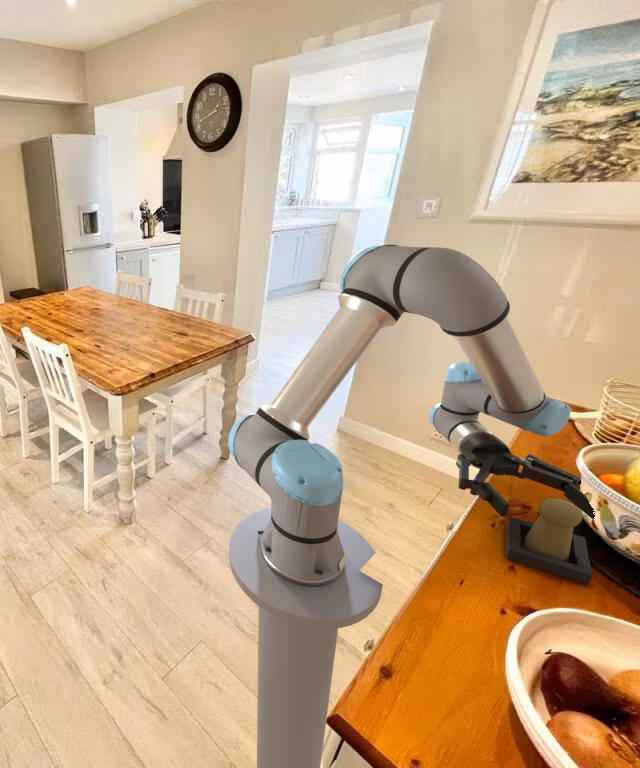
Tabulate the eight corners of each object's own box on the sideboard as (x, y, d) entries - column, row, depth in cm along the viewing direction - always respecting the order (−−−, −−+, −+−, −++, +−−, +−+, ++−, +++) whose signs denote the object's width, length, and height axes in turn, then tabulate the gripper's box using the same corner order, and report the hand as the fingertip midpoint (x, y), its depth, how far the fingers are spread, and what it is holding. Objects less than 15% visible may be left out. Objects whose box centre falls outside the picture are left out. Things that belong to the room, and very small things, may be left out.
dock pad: (506, 558, 72) (509, 549, 72) (507, 524, 79) (509, 516, 78) (588, 585, 66) (592, 575, 65) (581, 546, 73) (585, 537, 72)
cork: (516, 551, 73) (533, 504, 69) (526, 534, 76) (543, 488, 72) (563, 571, 69) (584, 522, 64) (572, 553, 72) (592, 504, 67)
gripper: (541, 460, 88) (631, 531, 69) (413, 459, 94) (464, 525, 75) (551, 431, 85) (647, 497, 66) (418, 432, 91) (473, 493, 72)
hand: (551, 512), depth 71 cm, fingers open, 13 cm apart
